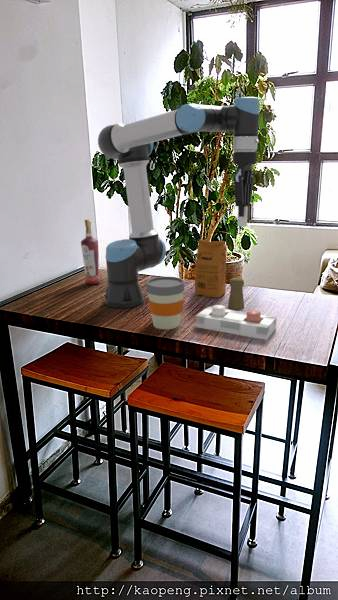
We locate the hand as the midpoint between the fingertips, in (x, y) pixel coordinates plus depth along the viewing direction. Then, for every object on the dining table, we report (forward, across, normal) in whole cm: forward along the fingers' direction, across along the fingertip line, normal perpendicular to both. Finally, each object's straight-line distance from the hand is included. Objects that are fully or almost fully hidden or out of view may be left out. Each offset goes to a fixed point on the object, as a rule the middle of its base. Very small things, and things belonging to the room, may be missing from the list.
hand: (242, 226), depth 150 cm
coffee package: (+32, +16, +19) cm, 40 cm away
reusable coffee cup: (+32, -20, +18) cm, 41 cm away
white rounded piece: (+29, -12, +2) cm, 32 cm away
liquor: (+33, +7, +72) cm, 79 cm away
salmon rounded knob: (+29, -12, -10) cm, 33 cm away
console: (+31, -12, -4) cm, 34 cm away
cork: (+32, +7, +4) cm, 33 cm away
